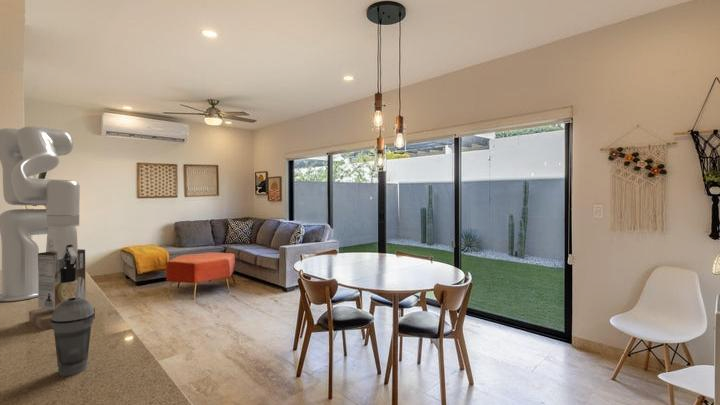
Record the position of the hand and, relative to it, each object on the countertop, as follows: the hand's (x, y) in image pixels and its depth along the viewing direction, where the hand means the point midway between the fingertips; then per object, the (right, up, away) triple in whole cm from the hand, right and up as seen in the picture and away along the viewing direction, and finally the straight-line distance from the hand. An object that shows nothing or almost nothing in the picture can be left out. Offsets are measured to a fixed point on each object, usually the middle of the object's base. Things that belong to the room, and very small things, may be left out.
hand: (62, 279), depth 104 cm
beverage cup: (+27, -13, -29) cm, 42 cm away
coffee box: (0, -8, 0) cm, 8 cm away
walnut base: (0, -12, 0) cm, 12 cm away
